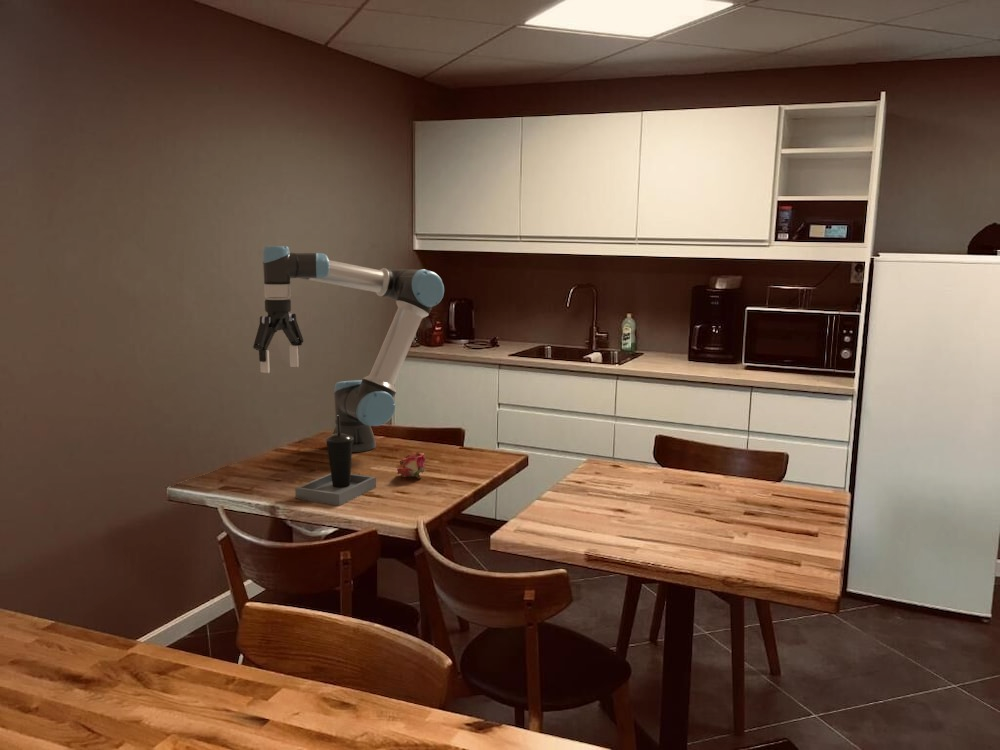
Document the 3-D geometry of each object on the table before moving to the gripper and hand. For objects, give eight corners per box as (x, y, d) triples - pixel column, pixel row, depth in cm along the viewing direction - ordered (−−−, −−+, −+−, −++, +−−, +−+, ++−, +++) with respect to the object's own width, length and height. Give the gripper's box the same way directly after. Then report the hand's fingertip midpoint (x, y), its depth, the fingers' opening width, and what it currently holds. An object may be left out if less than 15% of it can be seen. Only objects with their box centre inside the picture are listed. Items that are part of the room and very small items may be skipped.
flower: (438, 471, 236) (427, 447, 238) (423, 472, 227) (411, 447, 230) (413, 486, 239) (402, 462, 241) (397, 488, 231) (386, 463, 233)
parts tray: (334, 481, 230) (334, 471, 230) (376, 487, 225) (375, 477, 224) (295, 498, 214) (295, 488, 213) (339, 505, 209) (339, 494, 208)
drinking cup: (349, 490, 219) (345, 419, 215) (323, 488, 220) (319, 418, 217) (359, 481, 226) (356, 413, 223) (334, 480, 228) (330, 412, 224)
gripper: (293, 296, 248) (295, 363, 252) (238, 300, 226) (241, 374, 229) (313, 297, 245) (315, 365, 249) (259, 301, 223) (262, 376, 226)
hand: (280, 369), depth 239 cm, fingers open, 13 cm apart
